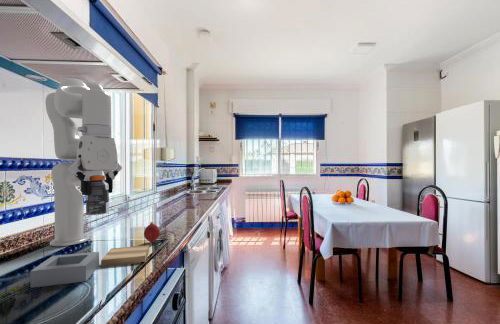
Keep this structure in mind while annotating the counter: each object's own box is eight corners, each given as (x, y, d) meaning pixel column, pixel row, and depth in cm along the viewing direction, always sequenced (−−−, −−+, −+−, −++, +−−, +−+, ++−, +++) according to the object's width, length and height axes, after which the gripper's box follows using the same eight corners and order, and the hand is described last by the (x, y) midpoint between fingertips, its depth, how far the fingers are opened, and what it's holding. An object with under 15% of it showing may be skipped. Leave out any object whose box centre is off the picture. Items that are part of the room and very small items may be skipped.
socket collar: (52, 270, 77) (52, 255, 77) (99, 265, 80) (99, 251, 80) (30, 287, 65) (30, 271, 65) (86, 281, 68) (85, 265, 68)
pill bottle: (113, 212, 81) (113, 174, 82) (98, 215, 76) (98, 175, 76) (97, 211, 83) (96, 175, 83) (80, 215, 77) (80, 175, 77)
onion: (162, 242, 103) (162, 221, 103) (147, 245, 100) (147, 224, 100) (156, 239, 108) (156, 219, 108) (141, 242, 104) (141, 221, 104)
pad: (111, 254, 90) (110, 248, 90) (149, 250, 93) (149, 245, 93) (101, 267, 78) (101, 260, 78) (145, 262, 81) (145, 255, 81)
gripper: (73, 128, 70) (74, 197, 70) (130, 134, 85) (131, 191, 85) (58, 130, 74) (58, 196, 73) (115, 136, 89) (116, 191, 89)
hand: (97, 193), depth 79 cm, fingers closed on pill bottle, 6 cm apart
